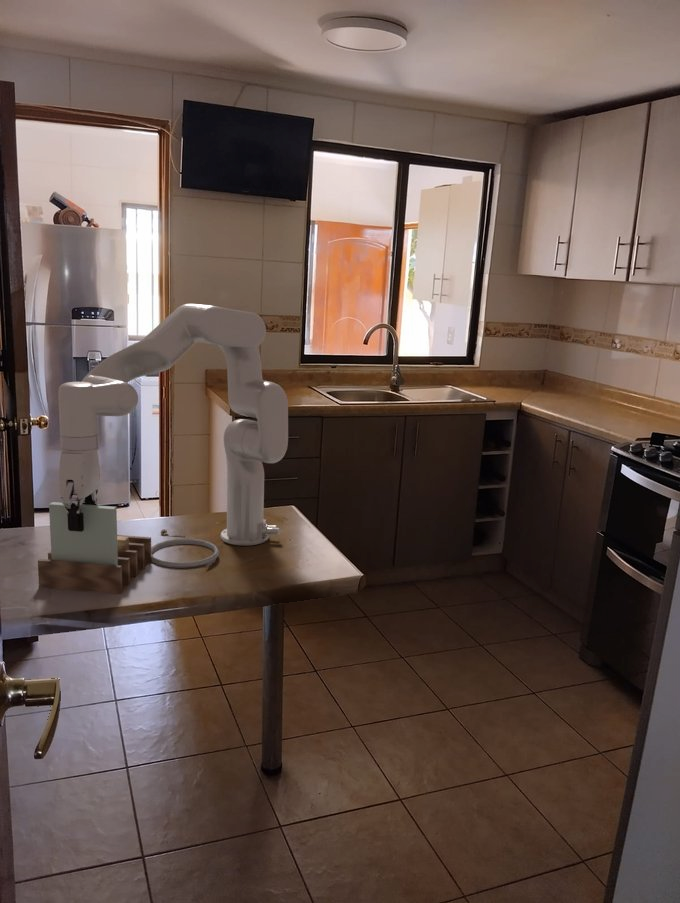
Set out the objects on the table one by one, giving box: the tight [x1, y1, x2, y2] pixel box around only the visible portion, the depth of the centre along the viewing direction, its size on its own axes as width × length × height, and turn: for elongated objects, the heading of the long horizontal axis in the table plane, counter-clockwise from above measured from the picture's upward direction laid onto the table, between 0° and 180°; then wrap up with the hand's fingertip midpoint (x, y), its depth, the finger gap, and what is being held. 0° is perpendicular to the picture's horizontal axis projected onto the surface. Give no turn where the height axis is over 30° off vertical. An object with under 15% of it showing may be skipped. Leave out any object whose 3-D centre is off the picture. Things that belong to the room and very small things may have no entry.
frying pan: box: [151, 528, 220, 569], centre depth 184 cm, size 17×3×28 cm
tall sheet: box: [48, 501, 118, 565], centre depth 158 cm, size 14×2×18 cm, turn 84°
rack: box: [37, 534, 153, 595], centre depth 166 cm, size 18×19×7 cm
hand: (82, 524), depth 157 cm, fingers open, 5 cm apart
